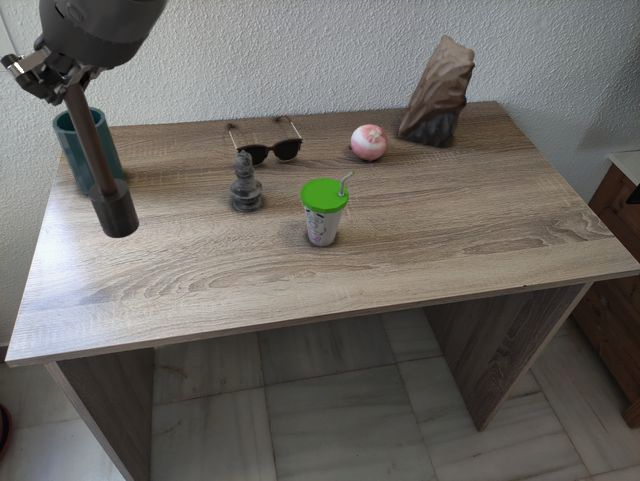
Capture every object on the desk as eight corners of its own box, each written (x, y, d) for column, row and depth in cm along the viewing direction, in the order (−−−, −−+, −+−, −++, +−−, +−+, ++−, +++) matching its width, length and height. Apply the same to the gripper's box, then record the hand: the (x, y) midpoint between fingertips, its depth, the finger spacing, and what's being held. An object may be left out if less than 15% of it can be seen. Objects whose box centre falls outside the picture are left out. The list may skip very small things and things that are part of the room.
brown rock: (416, 112, 113) (435, 28, 99) (466, 130, 109) (493, 44, 94) (394, 137, 106) (411, 49, 91) (447, 156, 101) (473, 68, 87)
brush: (104, 241, 58) (33, 72, 42) (102, 218, 61) (35, 51, 45) (141, 233, 59) (86, 66, 43) (137, 211, 62) (84, 46, 46)
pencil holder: (80, 201, 87) (52, 137, 76) (78, 174, 92) (52, 110, 82) (127, 192, 89) (106, 128, 79) (123, 166, 94) (103, 103, 84)
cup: (290, 240, 82) (290, 172, 71) (316, 216, 87) (319, 148, 76) (327, 260, 79) (333, 193, 68) (351, 234, 84) (361, 166, 73)
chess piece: (257, 189, 91) (253, 136, 82) (268, 208, 88) (265, 155, 79) (227, 196, 89) (221, 144, 80) (237, 216, 86) (231, 163, 77)
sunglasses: (238, 169, 95) (236, 148, 92) (224, 130, 106) (221, 110, 103) (303, 159, 98) (303, 138, 95) (283, 122, 109) (282, 102, 106)
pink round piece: (358, 169, 97) (362, 140, 92) (342, 148, 102) (344, 119, 96) (391, 161, 99) (397, 132, 94) (374, 141, 104) (378, 112, 99)
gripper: (147, -75, 37) (94, 36, 51) (-25, -35, 29) (-35, 85, 43) (204, 11, 39) (139, 97, 53) (58, 71, 31) (24, 155, 44)
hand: (61, 91), depth 48 cm, fingers closed on brush, 2 cm apart
